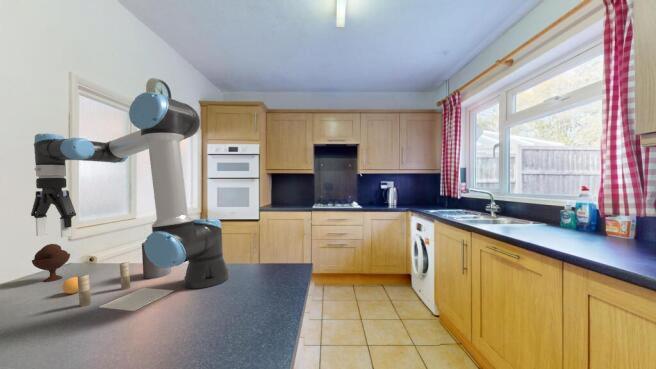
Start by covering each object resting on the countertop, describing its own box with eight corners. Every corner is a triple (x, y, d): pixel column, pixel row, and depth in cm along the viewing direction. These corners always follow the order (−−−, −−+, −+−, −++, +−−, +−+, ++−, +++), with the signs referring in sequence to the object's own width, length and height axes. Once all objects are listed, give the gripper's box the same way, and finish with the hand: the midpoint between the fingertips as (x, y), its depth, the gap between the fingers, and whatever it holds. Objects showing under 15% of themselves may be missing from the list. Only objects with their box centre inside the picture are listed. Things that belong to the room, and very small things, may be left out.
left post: (92, 303, 83) (91, 274, 83) (83, 306, 81) (81, 277, 80) (87, 302, 84) (85, 274, 84) (77, 306, 81) (75, 277, 81)
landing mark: (174, 291, 89) (174, 290, 89) (133, 311, 76) (133, 310, 76) (142, 288, 93) (142, 288, 93) (98, 307, 80) (98, 306, 80)
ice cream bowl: (78, 274, 114) (76, 240, 114) (49, 284, 103) (46, 246, 103) (56, 275, 115) (54, 240, 115) (25, 285, 104) (22, 247, 104)
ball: (88, 290, 94) (87, 275, 94) (69, 296, 89) (68, 280, 89) (77, 289, 96) (76, 274, 96) (58, 295, 91) (57, 280, 91)
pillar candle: (139, 276, 107) (136, 239, 106) (165, 269, 115) (163, 235, 114) (149, 280, 101) (147, 242, 101) (176, 272, 109) (173, 237, 109)
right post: (132, 287, 95) (130, 262, 95) (124, 289, 93) (123, 264, 93) (126, 286, 96) (125, 262, 96) (119, 289, 93) (117, 264, 93)
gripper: (15, 178, 95) (18, 236, 95) (61, 176, 87) (63, 239, 88) (43, 178, 102) (45, 232, 102) (87, 176, 95) (89, 235, 95)
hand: (54, 236), depth 95 cm, fingers open, 13 cm apart
